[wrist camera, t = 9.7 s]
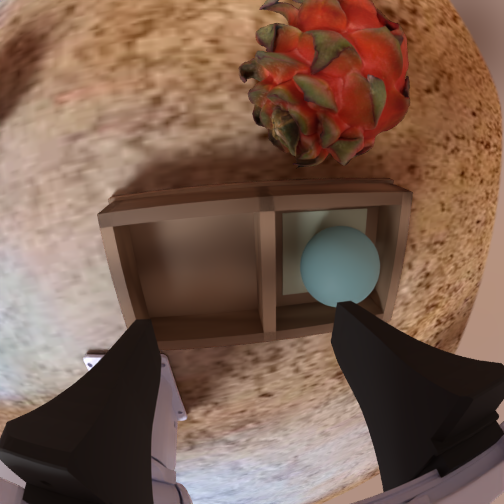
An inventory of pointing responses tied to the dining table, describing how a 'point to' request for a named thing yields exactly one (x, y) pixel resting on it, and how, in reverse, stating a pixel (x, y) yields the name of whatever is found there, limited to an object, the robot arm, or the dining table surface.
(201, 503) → the dining table surface
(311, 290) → the ball
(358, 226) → the divided wooden tray
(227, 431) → the dining table surface
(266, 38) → the dragon fruit
